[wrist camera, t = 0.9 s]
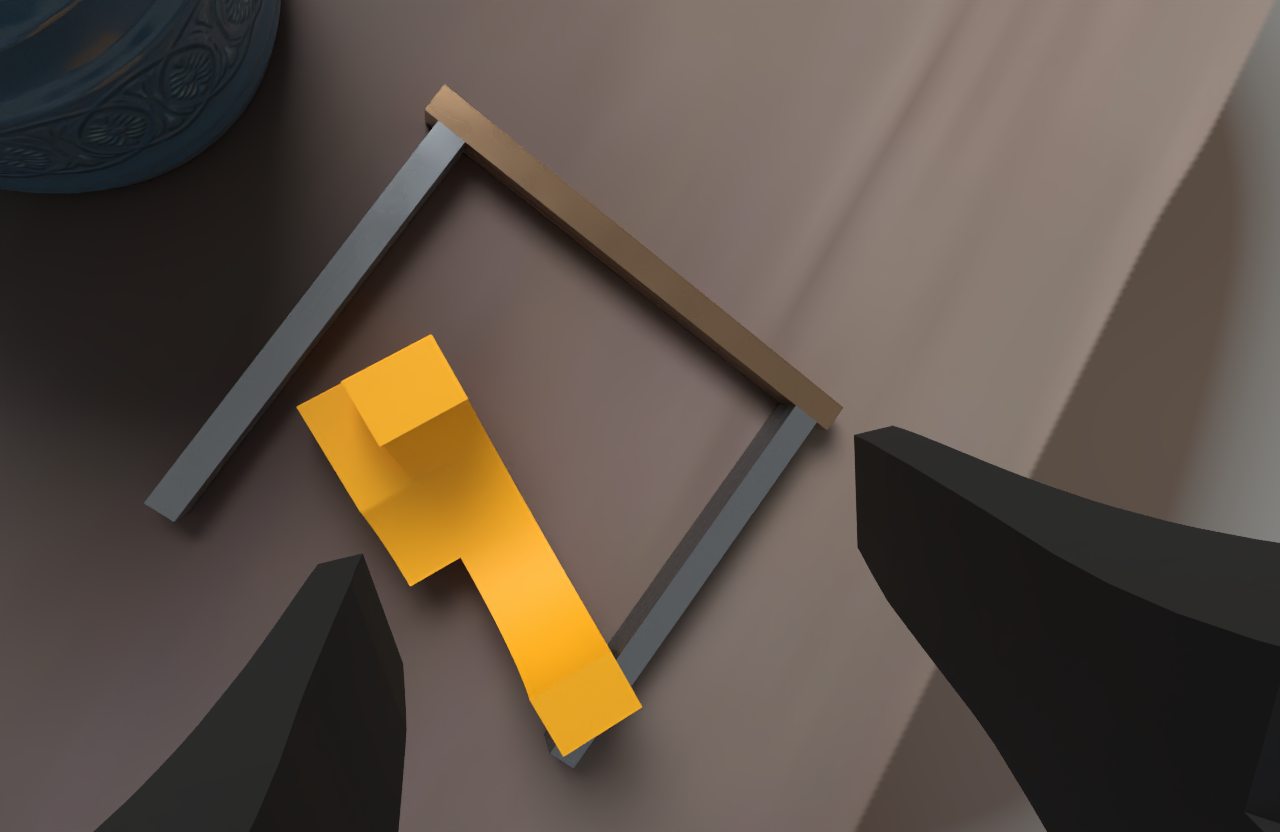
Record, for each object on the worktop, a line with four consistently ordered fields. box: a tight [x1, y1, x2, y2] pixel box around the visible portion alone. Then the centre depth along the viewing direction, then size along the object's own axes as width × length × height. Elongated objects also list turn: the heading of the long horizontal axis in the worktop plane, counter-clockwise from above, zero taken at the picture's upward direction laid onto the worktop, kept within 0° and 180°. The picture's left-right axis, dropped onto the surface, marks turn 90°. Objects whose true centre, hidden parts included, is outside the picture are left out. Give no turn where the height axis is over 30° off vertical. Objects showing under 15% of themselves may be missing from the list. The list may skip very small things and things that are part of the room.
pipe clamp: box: [297, 334, 642, 757], centre depth 27 cm, size 12×4×6 cm, turn 28°
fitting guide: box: [144, 84, 843, 769], centre depth 29 cm, size 16×17×2 cm
